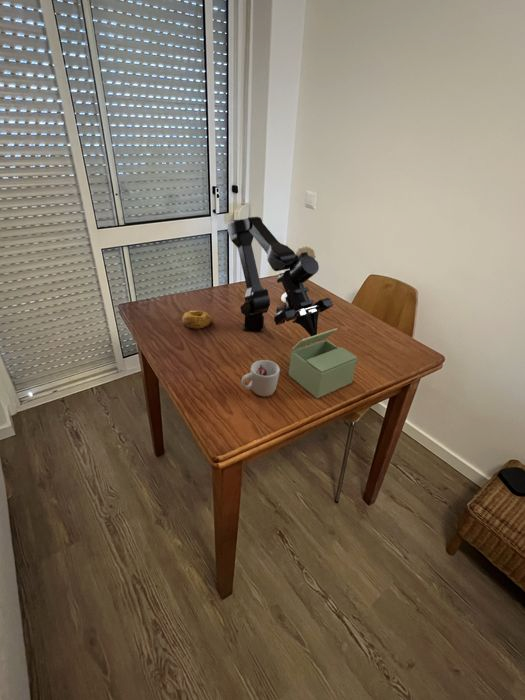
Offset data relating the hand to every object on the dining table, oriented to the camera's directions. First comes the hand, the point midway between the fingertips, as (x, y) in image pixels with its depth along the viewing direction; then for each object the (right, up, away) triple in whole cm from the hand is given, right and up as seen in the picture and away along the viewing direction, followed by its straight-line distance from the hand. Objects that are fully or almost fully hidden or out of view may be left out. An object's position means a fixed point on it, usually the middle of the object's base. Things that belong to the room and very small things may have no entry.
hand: (314, 337), depth 103 cm
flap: (0, -1, 0) cm, 1 cm away
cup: (-16, -16, -3) cm, 23 cm away
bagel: (-40, +6, +29) cm, 50 cm away
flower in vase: (-1, +17, +49) cm, 52 cm away
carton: (+2, -12, +3) cm, 13 cm away
